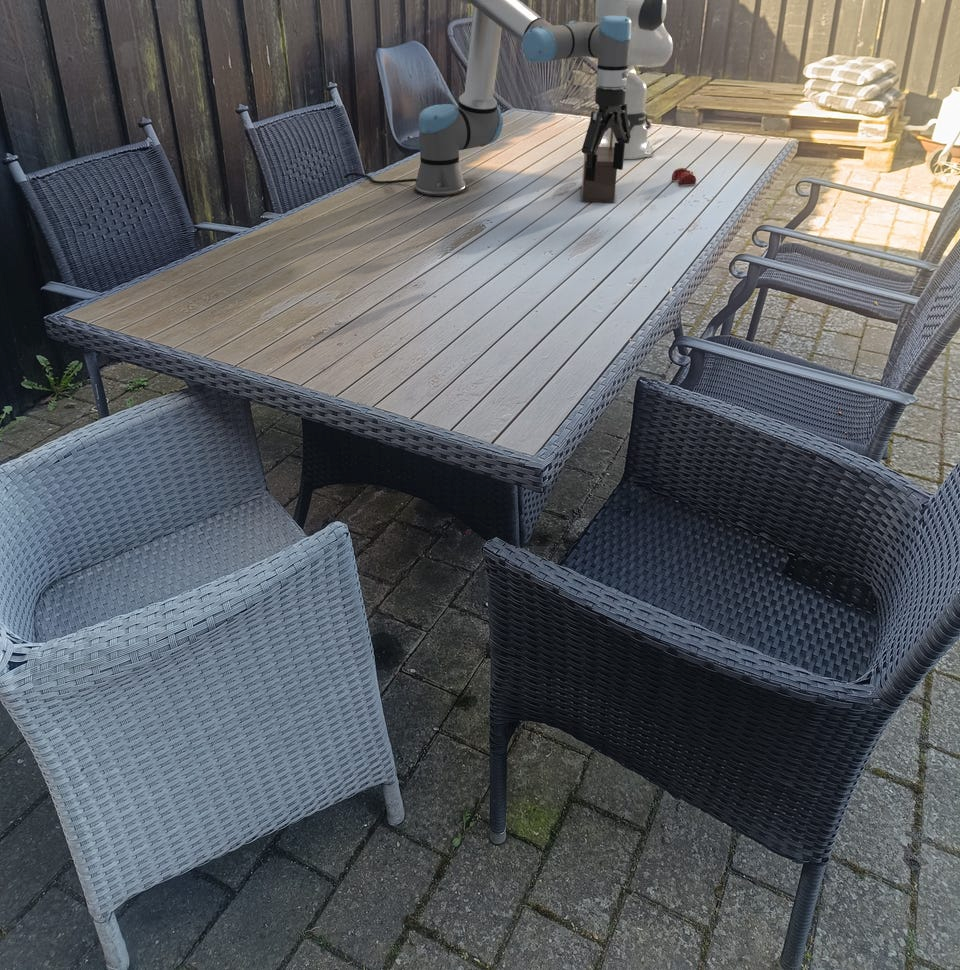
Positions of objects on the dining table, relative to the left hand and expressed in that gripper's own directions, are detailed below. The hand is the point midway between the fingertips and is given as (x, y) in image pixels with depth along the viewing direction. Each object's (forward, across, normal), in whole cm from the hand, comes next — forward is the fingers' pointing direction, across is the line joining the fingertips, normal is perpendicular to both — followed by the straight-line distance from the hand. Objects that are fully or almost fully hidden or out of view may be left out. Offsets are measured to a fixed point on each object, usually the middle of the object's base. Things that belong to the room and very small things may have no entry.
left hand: (604, 174), depth 222 cm
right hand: (-12, +31, +20) cm, 39 cm away
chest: (+14, +25, +17) cm, 33 cm away
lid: (+4, +26, +17) cm, 31 cm away
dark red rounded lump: (+14, +52, +2) cm, 54 cm away
